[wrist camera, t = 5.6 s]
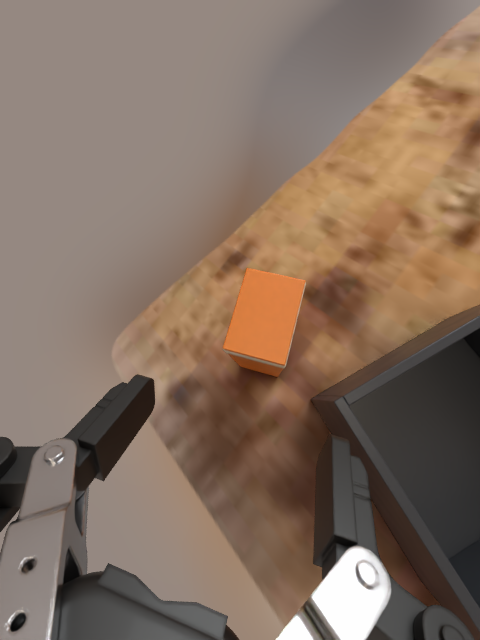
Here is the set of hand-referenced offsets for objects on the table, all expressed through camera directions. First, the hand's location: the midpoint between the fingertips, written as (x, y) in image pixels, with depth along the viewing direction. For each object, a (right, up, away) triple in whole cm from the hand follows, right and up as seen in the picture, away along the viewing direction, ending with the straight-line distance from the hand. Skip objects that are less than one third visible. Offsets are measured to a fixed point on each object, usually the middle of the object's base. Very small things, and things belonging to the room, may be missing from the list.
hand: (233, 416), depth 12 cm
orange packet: (+3, +2, +13) cm, 13 cm away
